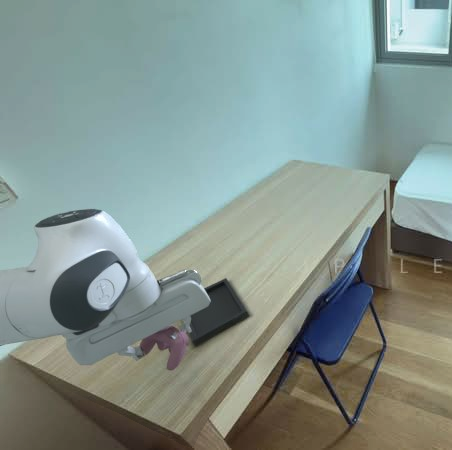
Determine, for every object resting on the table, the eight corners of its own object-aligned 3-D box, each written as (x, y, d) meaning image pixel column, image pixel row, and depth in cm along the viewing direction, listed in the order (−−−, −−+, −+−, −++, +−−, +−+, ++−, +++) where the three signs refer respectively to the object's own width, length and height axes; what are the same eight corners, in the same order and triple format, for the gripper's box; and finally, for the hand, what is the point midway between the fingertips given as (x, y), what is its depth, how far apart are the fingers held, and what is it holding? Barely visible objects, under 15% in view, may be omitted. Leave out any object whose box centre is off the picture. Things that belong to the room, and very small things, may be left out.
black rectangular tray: (196, 346, 72) (192, 341, 71) (180, 306, 82) (176, 301, 81) (249, 316, 78) (247, 311, 77) (228, 282, 89) (226, 277, 88)
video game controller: (193, 361, 61) (194, 328, 60) (170, 374, 57) (170, 339, 56) (159, 347, 64) (159, 316, 63) (134, 358, 60) (133, 325, 59)
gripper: (190, 257, 60) (216, 306, 68) (48, 316, 49) (98, 366, 57) (198, 273, 56) (225, 323, 64) (45, 340, 45) (100, 390, 53)
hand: (164, 343), depth 60 cm, fingers closed on video game controller, 6 cm apart
